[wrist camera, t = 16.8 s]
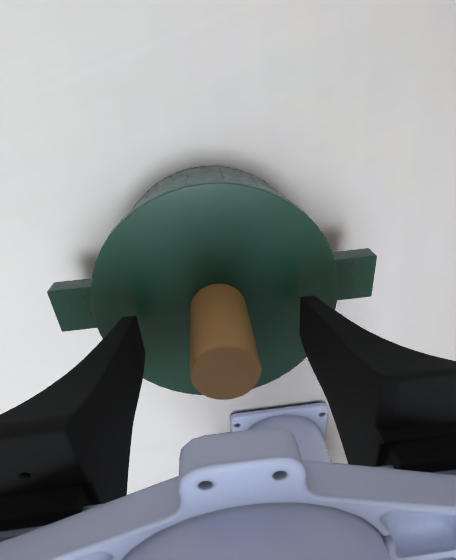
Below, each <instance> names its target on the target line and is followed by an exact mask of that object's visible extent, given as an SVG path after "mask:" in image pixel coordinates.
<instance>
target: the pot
mask: <svg viewBox="0 0 456 560" xmlns="http://www.w3.org/2000/svg"><path fill="white" fill-rule="evenodd" d="M217 180H225V181H235V182H243V183H247V184H251V185H256V186H260V187H262V188H265V189H267V190H270V191H272V192H275V193H277V194H279V193H278V192H277V191H276V190H275V189H274V188H272V187H271V186H269V185H268V184H267V183H265V182H264V181H262V180H261V179H259V178H257V177H255V176H254V175H252V174H249V173H247V172H244V171H242V170H238V169H234V168H230V167H222V166H202V167H196V168H190V169H187V170H183V171H180V172H177V173H175V174H173V175H171V176H169V177H167V178H165V179H163V180H162V181H160V182H159V183H157V184H156V185H155V186H153V187H152V188H151V189H150V190H149V191H148V192H146V194H145V195H144V196H143V197H142V198H141V199H140V200H139V201H138V202H137V204H136V205H135V207H134V208H136V207H137V206H138V205H140V204H142V203H143V202H145V201H146V200H148V199H149V198H151V197H153V196H155V195H157V194H159V193H162V192H164V191H166V190H168V189H171V188H174V187H178V186H181V185H184V184H189V183H195V182H201V181H217ZM332 253H333V256H334V259H335V263H336V267H337V274H338V296H337V300H343V299H352V298H361V297H369V296H371V294H372V287H373V280H374V273H375V266H376V259H377V256H376V255H375V254H374V253H373V252H372V251H371V250H370V249H368V248H367V249H358V250H348V251H339V252H332ZM90 291H91V279H83V280H73V281H64V282H55V283H53V285H52V286H51V287H50V289H49V290H48V292H47V293H48V296H49V299H50V301H51V304H52V306H53V309H54V312H55V314H56V317H57V320H58V322H59V325H60V327H61V330H62V331H72V330H81V329H89V328H98V327H97V325H96V322H95V320H94V315H93V311H92V307H91V294H90Z"/></svg>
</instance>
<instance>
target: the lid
mask: <svg viewBox="0 0 456 560" xmlns="http://www.w3.org/2000/svg"><path fill="white" fill-rule="evenodd" d="M90 294H91V307H92V311H93V315H94V320H95V322H96V325H97V327H98V330H99V332H100V334H101V336H102V338H103V339H104V337H105V336H106V335H107V334H108V333H109V332H110V331H111V329H112V328H113V327H114V326H115V325H116V324H117V322H118V321H119V320H120V319H121V318H122V317H128V316H137V320H138V324H139V328H140V332H141V336H142V340H143V345H144V349H145V365H144V374H143V378H144V379H146V380H147V381H150V382H152V383H154V384H156V385H159V386H161V387H164V388H167V389H170V390H173V391H178V392H183V393H188V394H197V395H205V396H207V397H210V398H214V399H224V400H225V399H233V398H237V397H239V396H242V395H244V394H246V393H247V392H249V391H250V390H251V389H253V388H256V387H259V386H261V385H264V384H267V383H269V382H271V381H273V380H275V379H277V378H279V377H281V376H282V375H284V374H285V373H287V372H289V371H290V370H292V369H293V368H294V367H295V366H297V365H298V364H299V363H301V362H302V361H303V360H304V359H305V358H306V357H307V356H306V354H305V351H304V348H303V345H302V341H301V338H300V335H299V327H300V297H304V296H313V295H314V296H316V297H317V298H319V299H320V300H321V301H323V302H324V303H325V304H327V305H328V306H329V307H331V308H332V309H334V310H335V307H336V302H337V296H338V274H337V267H336V263H335V259H334V256H333V253H332V250H331V248H330V246H329V244H328V242H327V240H326V238H325V236H324V235H323V234H322V232H321V231H320V229H319V228H318V226H317V225H316V224H315V223H314V222H313V221H312V220H311V219H310V218H309V217H308V216H307V214H306V213H305V212H304V211H302V210H301V209H300V208H299V207H297V206H296V205H295V204H293V203H292V202H291V201H289V200H287V199H286V198H284V197H282V196H280V195H279V194H277V193H275V192H272V191H270V190H267V189H265V188H262V187H260V186H256V185H251V184H247V183H243V182H235V181H225V180H217V181H201V182H195V183H189V184H184V185H181V186H178V187H174V188H171V189H168V190H166V191H164V192H162V193H159V194H157V195H155V196H153V197H151V198H149V199H148V200H146V201H145V202H143V203H142V204H140V205H138V206H137V207H136V208H134V209H133V210H132V211H131V212H130V213H129V214H127V215H126V216H125V217H124V218H123V219H122V220H121V221H120V222H119V224H118V225H117V226H116V227H115V228H114V229H113V231H112V232H111V234H110V235H109V237H108V238H107V240H106V242H105V243H104V245H103V247H102V248H101V251H100V253H99V255H98V258H97V260H96V262H95V266H94V270H93V274H92V279H91V291H90Z"/></svg>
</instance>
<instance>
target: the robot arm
mask: <svg viewBox="0 0 456 560" xmlns="http://www.w3.org/2000/svg"><path fill="white" fill-rule="evenodd" d="M299 335H300V338H301V341H302V345H303V348H304V351H305V354H306V356H307V358H308V360H309V362H310V364H311V366H312V369H313V371H314V373H315V375H316V377H317V379H318V381H319V383H320V385H321V387H322V389H323V391H324V394H325V396H326V398H327V401H328V403H329V406H330V409H331V412H332V415H333V418H334V420H335V423H336V426H337V429H338V432H339V435H340V439H341V442H342V445H343V448H344V451H345V455H346V458H347V461H348V464H339V463H332V461H331V459H330V456H329V453H328V451H327V448H326V445H325V438H326V427H327V416H328V407H327V405H326V404H325V403H314V404H306V405H298V406H290V407H283V408H275V409H267V410H259V411H251V412H243V413H236V414H233V415H232V416H231V417H230V421H231V430H232V432H228V433H220V434H212V435H205V436H202V437H198V438H195V439H192V440H191V441H189V442H188V443H187V444H186V445H185V446H184V447H183V448H182V449H181V453H180V459H179V476H177V477H175V478H172V479H169V480H167V481H164V482H161V483H158V484H156V485H153V486H150V487H148V488H145V489H142V490H140V491H137V492H134V493H132V494H129V495H127V481H128V468H129V456H130V446H131V436H132V427H133V421H134V416H135V411H136V407H137V402H138V398H139V393H140V389H141V384H142V379H143V374H144V365H145V349H144V345H143V340H142V336H141V332H140V328H139V324H138V320H137V316H128V317H122V318H121V319H120V320H119V321H118V322H117V324H116V325H115V326H114V327H113V328H112V329H111V331H110V332H109V333H108V334H107V335H106V336H105V337H104V339H103V340H102V341H101V342H100V343H99V344H98V345H97V346H96V347H95V348H94V349H93V350H92V351H91V352H90V353H89V354H88V355H87V356H86V357H85V358H84V359H83V360H82V361H81V362H80V363H79V364H78V365H77V366H75V367H74V368H73V369H72V370H71V371H69V372H68V373H67V374H66V375H64V376H63V377H62V378H60V379H59V380H58V381H56V382H55V383H53V384H52V385H51V386H49V387H48V388H46V389H45V390H43V391H42V392H40V393H39V394H37V395H35V396H34V397H32V398H30V399H29V400H27V401H25V402H24V403H22V404H20V405H18V406H16V407H14V408H12V409H10V410H9V411H7V412H5V413H3V414H1V415H0V560H456V361H452V360H448V359H444V358H439V357H435V356H431V355H427V354H424V353H421V352H417V351H414V350H411V349H408V348H405V347H403V346H400V345H398V344H395V343H392V342H390V341H388V340H385V339H383V338H381V337H379V336H377V335H375V334H373V333H371V332H369V331H367V330H365V329H363V328H361V327H360V326H358V325H356V324H355V323H353V322H351V321H350V320H348V319H347V318H345V317H344V316H342V315H341V314H339V313H338V312H336V311H335V310H334V309H332V308H331V307H329V306H328V305H327V304H325V303H324V302H323V301H321V300H320V299H319V298H317V297H316V296H314V295H313V296H304V297H300V327H299ZM236 423H237V424H236Z"/></svg>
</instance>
